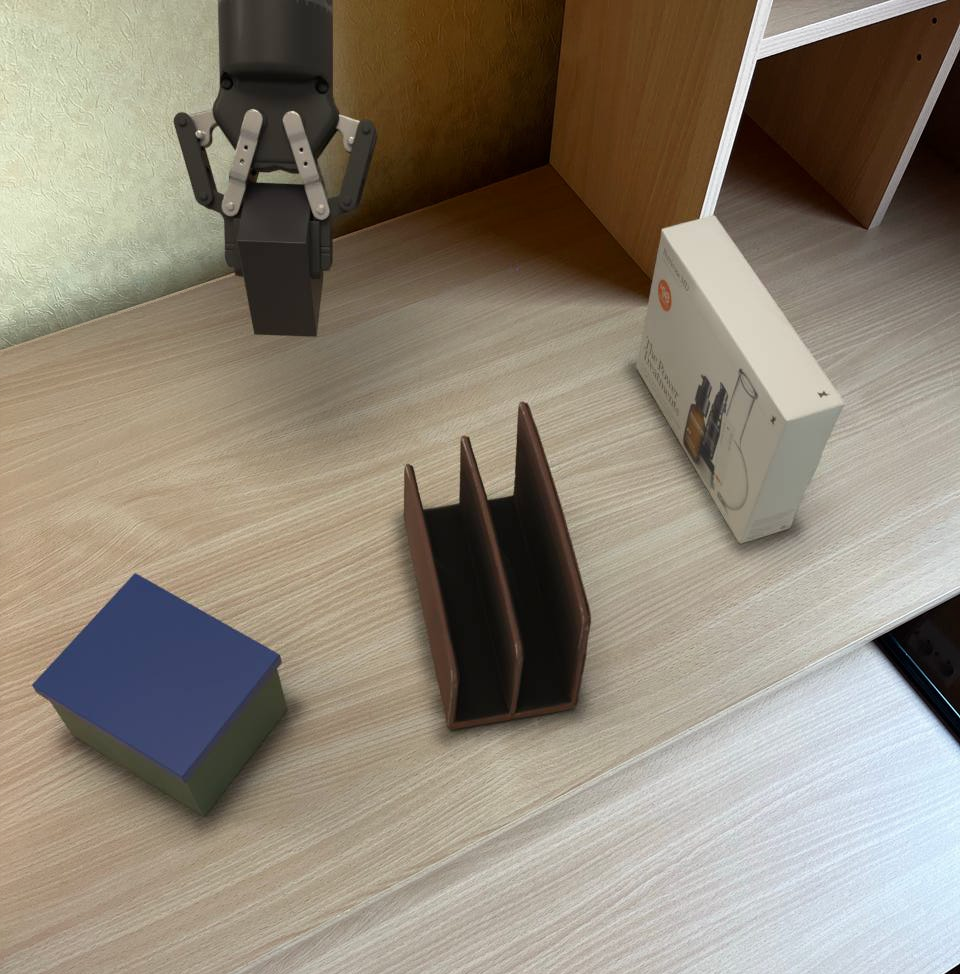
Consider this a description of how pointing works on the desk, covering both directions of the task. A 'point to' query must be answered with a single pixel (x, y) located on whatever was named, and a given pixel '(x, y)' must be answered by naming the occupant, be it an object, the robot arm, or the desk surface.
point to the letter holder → (500, 591)
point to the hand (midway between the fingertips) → (279, 276)
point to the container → (167, 692)
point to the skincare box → (734, 379)
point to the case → (279, 260)
